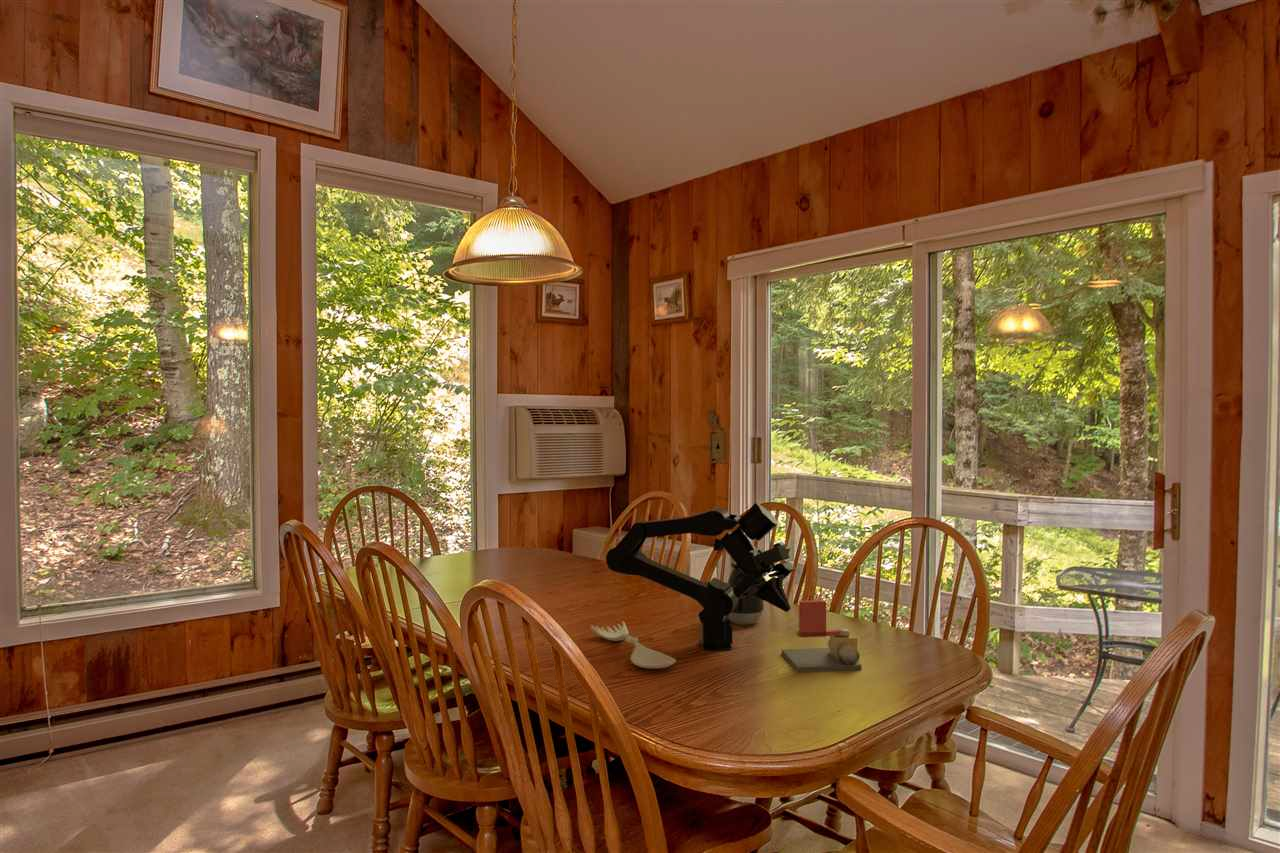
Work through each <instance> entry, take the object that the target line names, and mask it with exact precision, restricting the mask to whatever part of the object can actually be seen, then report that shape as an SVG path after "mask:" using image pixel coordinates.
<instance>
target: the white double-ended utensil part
mask: <svg viewBox="0 0 1280 853" xmlns="http://www.w3.org/2000/svg"><path fill="white" fill-rule="evenodd" d="M616 625H617V627H616ZM616 625H615V624H613V625H612V628H613V629H614V630H613V629H612V628H611V627H610V626H609V625H607V626H606V629H605V628H604V627H603V626H600V627H599V626H597V625H596V626H594V625H593V624H591V625H590V629H591V630H592V631H593V632H594V633H595V634H598V635H599V636H600V637H601V638H604V639H605V640H608V641H612V642H619V641H623V640H624V641H625V642H626V643H629V644H633V645H634V648H633V651H632V653H631V655H630V661H631V663H633V665H635V666H637V667H639V668H642V669H646V670H654V669H655V670H657V669H658V670H659V669H665V668H668V667H670V666H673V665H674V664H675V663H676V662H677V660H676V659H675V658H674V657H672V656H670V655H667V654H665V653H663V652H660V651H657V650H655V649H651V648H649V647H647V646H645V645H642V644H641V643H640V642H638V641H639V637H638V638H637V637H634V636H631V635H629V631H628V630H629V629H628V628H627V625H626V623H625V621H623V620H622V621H621V624H620V623H617V624H616ZM621 625H622V626H621Z"/></svg>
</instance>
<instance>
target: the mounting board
mask: <svg viewBox="0 0 1280 853" xmlns="http://www.w3.org/2000/svg"><path fill="white" fill-rule="evenodd" d="M781 655H782V657H783V658H785V659H786V660H787V661H788V662H789V664H790V665H791V666H792V667H793V668H794V670H796V672H797V673H809V672H810V671H815V672H833V671H835V672H836V671H860V670H862V664H861V663H860V662H859V661H858V662H857V663H856V664H854V665H847V664H846V663H845V662H836V661H835V660H834V659H833V658H832V657H831V656H830V649H829V647H815V648H792V649H789V648H786V649H781Z"/></svg>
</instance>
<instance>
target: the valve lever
mask: <svg viewBox="0 0 1280 853" xmlns="http://www.w3.org/2000/svg"><path fill="white" fill-rule="evenodd" d="M798 610H799V611H798V615H799V616H798V618H799V619H798V624H799V625H798V627H799V628H798V630H797V631H796V636H797V637H799V638H825V637H830V636H849V632H850V629H848V628H837V629H827V601H826V600H825V599H822V600H821V599H817V600H816V599H815V600H799V601H798Z"/></svg>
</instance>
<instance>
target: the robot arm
mask: <svg viewBox="0 0 1280 853" xmlns="http://www.w3.org/2000/svg"><path fill="white" fill-rule="evenodd" d="M778 525H779V522H778V519H776V517H775V516H774V514H773V513H772V512H771V511H769V510H768V509H767V508H765V507H764V506H762V505H761V504H760V503H759V502H756V503H754V504H753V505H751V507H749V509H748V510H747V511H746V512H745V513H744V514H743V515H739V514H733V513H729V512H728V511H727V510H726V509H725V508H722V507H714V508H711V509H708V510H706V511H703V512H702V511H701V512H699V513H696V514H693V515H690V516H689V515H687V516H679V517H678V516H677V517H671V518H663V519H662V518H661V519H654V520H639V521H637V522H635V523H634V524H632V525H631V527H630V529H629V530H628V531H627V533H626V534H625V535H624V537H622V539H621V540H620V541H619V542H618V543H617V545H616V546H615V547H613V548H610V549H609V550H608V551H607V552H606V556H605V562H606V565H607V568H608V569H609V570H610V571H612V572H615V573H619V574H623V575H628V576H629V575H631V576H640V577H641V578H642V577H643V578H645V579H647V580H650V581H652V582H654V583H656V584H659V585H661V586H662V587H663V586H664V587H666V588H668V589H670V590H673V591H675V592H676V593H679V594H682V595H684V596H687V597H689V598H691V599H693V600H695V601H696V602H697V603H698V604H699V605H700V606H701V607H702V608H703V609H702V610H701V611H700V612H699V613H698V618H699V620H700V639H699V644H700V646H701V647H702V650H705V651H709V650H711V651H712V650H715V651H716V650H717V651H718V650H731V649H733V647H732V645H733V626H732V624H731V621H730V620H729V618H728V617H727V616H729V614H730V613H731V612H732V610H733V609H734V608H735V607H736V606H737V604H738V601H739V599H741V598H743V597H745V596H746V592H747V591H748V590H749V589H750V588H752V587H755V590H756V591H757V592H756V593H754V594H753V596H754V597H758V598H760V599H762V600H763V602H766V603H769V604H770V605H772V606H775V607H776V608H777V609H780V610H782V611H784V612H787V613H788V612H789V611H790V610H791V605H790V603H789V600H788V598H787V594H786V591H785V590H784V586H783V582H784V580H785V579H787V577H788V576H790V574H791V573H792V572H793V571H795V570H796V568H795V567H794V565H792V563H791V561H785V560H788V559H790V558H791V556H790V554H789V553H790V550H791V549H790V547H789V546H787V544H786V543H784V542H783V541H779V542H777V543H773V546H772V548H769V549H766V550H764V549H763V548H760V547H759V548H756V546H755V545H754V544H753V542H752V541H754V540H757V541H762V539H763V538H764V537H765V536H767V535H768V534H769V533H770V532H772V531H773V529H774V528H776V526H778ZM736 527H737V528H736ZM735 528H736V529H735ZM733 529H734V531H731V530H733ZM728 530H729V531H728ZM726 531H727V532H726ZM724 532H726V533H725V534H724ZM685 534H693V535H694V534H695V535H699V536H709V537H710V536H711V537H716V536H719V535H721V534H724V535H723V536H722V537H721V538H714V544H713V551H715V552H721V551H723V550H725V551H726V553H727V554H728V555H729V557H730V558H731V559H732V560H733V563H735V564H736V566H735V567H734V568H735V569H736V570H741V571H742V572H743V573H744V576H743V577H742V578H741V579H740V580H739V581H738V582H737V583H736V584H735V585H734V586H733V587H731V586H729V585H730V583H727V582H724V581H722V580H721V579H719V578H717V577H713V578H712V579H711V580H709V581H702V580H699V579H698V578H695V577H693V576H690V575H689V574H685V573H683V572H681V571H679V570H676V569H675V568H672V567H669V566H666V565H664V564H662V563H660V562H657V561H656V560H655V561H654V560H653V559H650V558H649V557H647V555H646V554H645V553H643V551H641V548H642V547H643V545H644V543H645V541H646V540H647V538H655V537H667V536H675V535H685ZM781 561H782V562H781Z"/></svg>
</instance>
